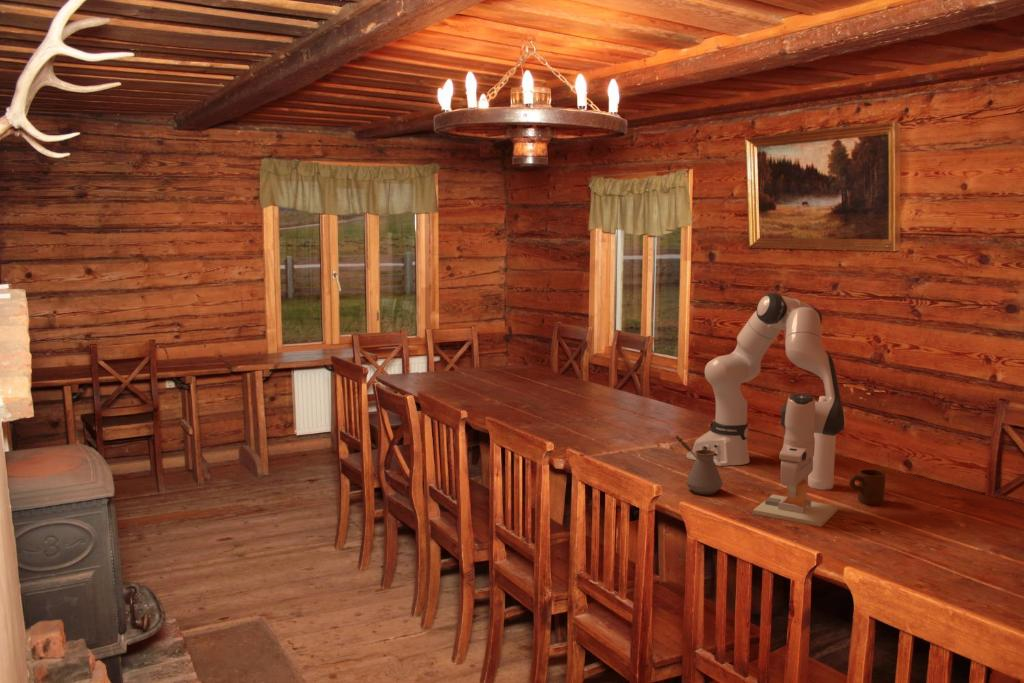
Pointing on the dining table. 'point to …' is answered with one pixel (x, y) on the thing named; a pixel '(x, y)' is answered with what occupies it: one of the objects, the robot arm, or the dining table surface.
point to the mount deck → (796, 511)
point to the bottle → (823, 460)
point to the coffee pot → (703, 472)
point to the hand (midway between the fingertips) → (796, 493)
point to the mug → (869, 486)
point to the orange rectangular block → (798, 495)
